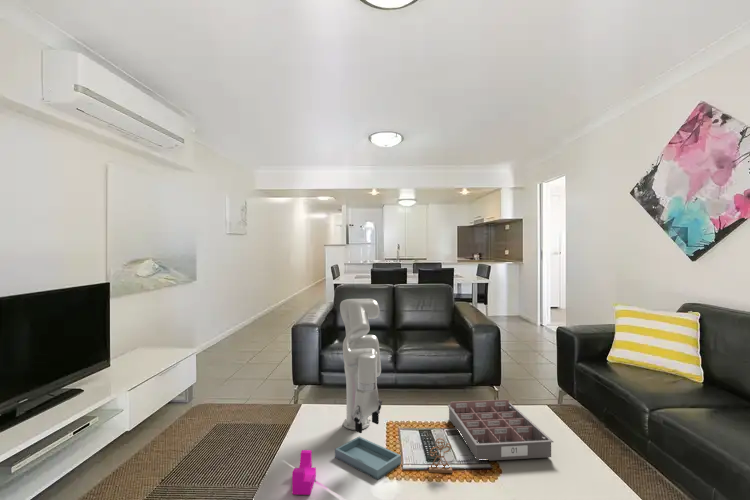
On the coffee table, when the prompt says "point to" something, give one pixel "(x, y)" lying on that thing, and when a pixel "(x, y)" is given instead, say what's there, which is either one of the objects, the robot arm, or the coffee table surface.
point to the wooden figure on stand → (437, 469)
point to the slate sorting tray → (368, 457)
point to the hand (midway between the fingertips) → (367, 427)
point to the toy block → (304, 475)
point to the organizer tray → (498, 430)
